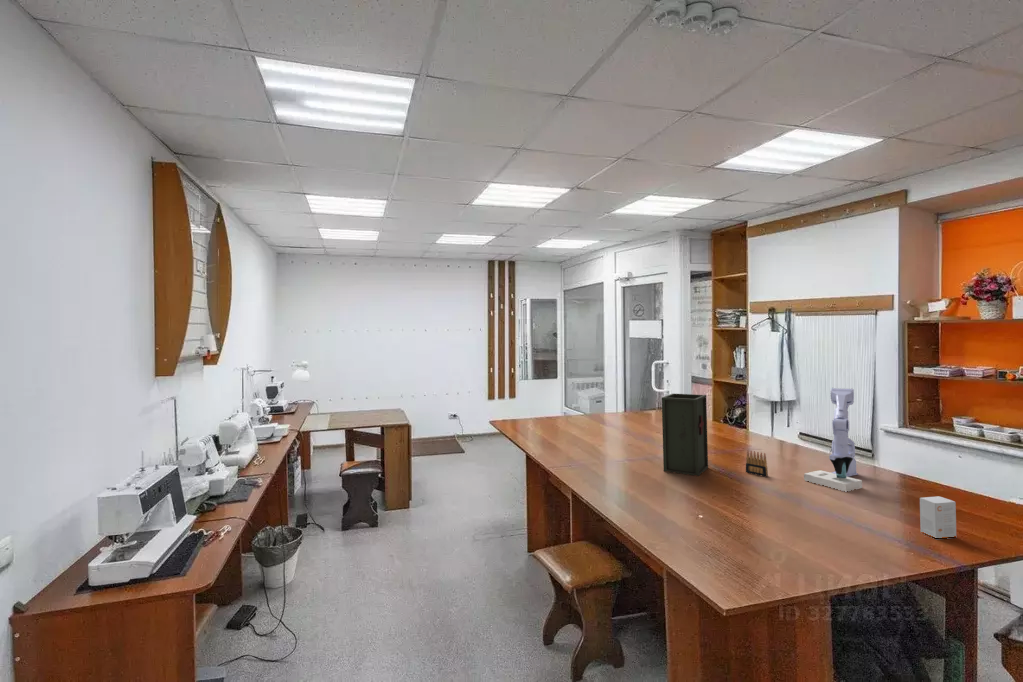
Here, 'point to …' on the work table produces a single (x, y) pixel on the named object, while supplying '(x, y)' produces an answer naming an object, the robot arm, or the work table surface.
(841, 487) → the bore block
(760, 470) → the ammunition clip
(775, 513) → the work table surface
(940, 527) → the small box
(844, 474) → the teal cylinder
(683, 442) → the dark green bin
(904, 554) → the work table surface
